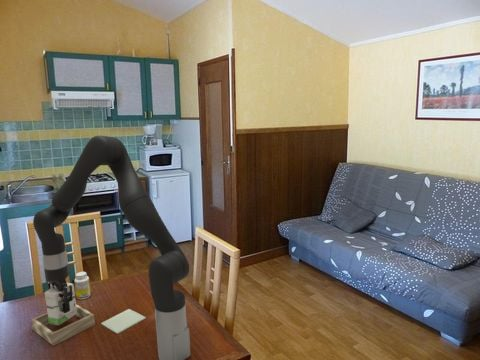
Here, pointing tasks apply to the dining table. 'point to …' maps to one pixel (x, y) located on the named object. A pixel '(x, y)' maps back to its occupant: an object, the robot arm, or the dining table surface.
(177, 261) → the robot arm
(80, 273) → the supplement bottle
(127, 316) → the sage mat
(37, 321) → the frame
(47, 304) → the ink box
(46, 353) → the dining table surface
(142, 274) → the dining table surface
